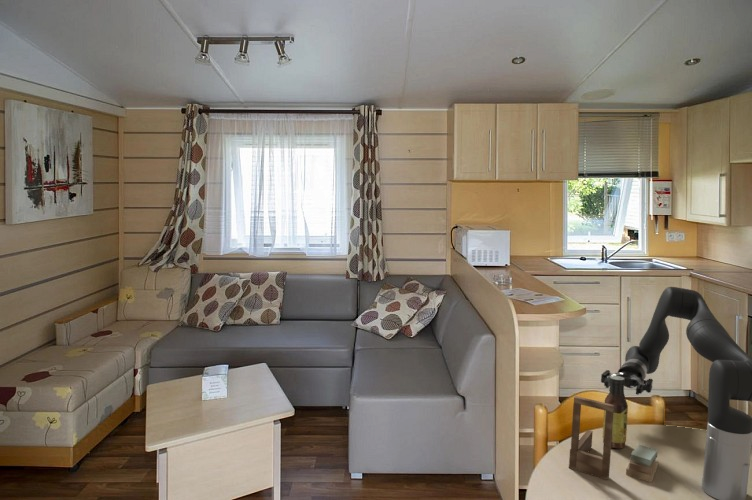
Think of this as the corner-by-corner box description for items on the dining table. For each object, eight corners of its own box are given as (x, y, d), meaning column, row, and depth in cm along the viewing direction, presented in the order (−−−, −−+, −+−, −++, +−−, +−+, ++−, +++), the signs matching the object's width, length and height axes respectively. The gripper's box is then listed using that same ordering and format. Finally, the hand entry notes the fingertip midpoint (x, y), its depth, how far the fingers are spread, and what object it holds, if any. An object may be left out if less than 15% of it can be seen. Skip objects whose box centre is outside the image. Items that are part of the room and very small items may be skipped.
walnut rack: (621, 456, 152) (626, 388, 150) (607, 480, 140) (612, 406, 137) (585, 446, 158) (589, 380, 155) (568, 467, 146) (572, 397, 143)
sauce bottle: (628, 450, 155) (632, 382, 153) (604, 448, 156) (608, 381, 154) (622, 440, 162) (626, 375, 159) (600, 438, 163) (603, 373, 160)
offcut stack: (657, 468, 146) (659, 449, 146) (651, 483, 139) (652, 462, 138) (632, 461, 150) (633, 442, 149) (624, 475, 143) (626, 455, 142)
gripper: (610, 357, 182) (598, 371, 169) (657, 366, 174) (648, 381, 161) (608, 379, 183) (596, 394, 170) (655, 389, 175) (646, 405, 162)
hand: (621, 388), depth 166 cm, fingers open, 8 cm apart
